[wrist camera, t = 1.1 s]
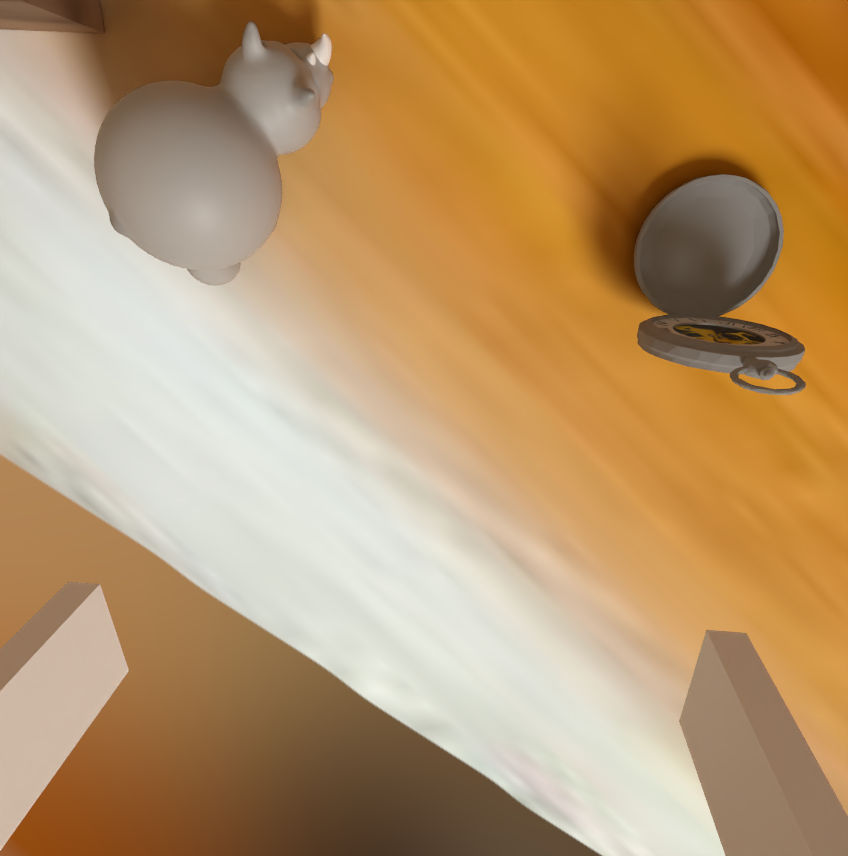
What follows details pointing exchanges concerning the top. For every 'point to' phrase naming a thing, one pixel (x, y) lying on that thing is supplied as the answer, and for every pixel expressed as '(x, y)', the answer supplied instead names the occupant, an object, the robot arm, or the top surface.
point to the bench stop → (52, 15)
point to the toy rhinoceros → (211, 154)
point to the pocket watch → (714, 280)
